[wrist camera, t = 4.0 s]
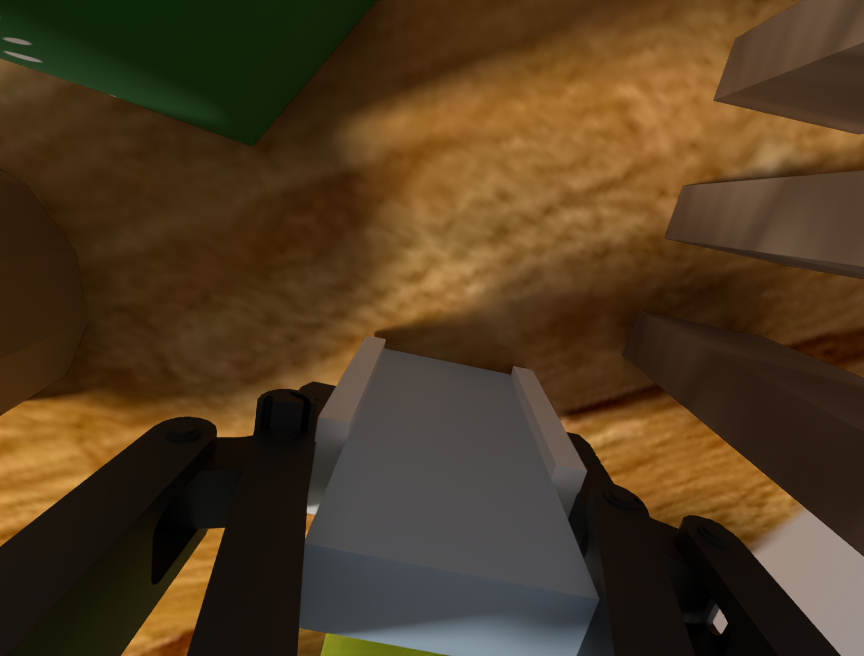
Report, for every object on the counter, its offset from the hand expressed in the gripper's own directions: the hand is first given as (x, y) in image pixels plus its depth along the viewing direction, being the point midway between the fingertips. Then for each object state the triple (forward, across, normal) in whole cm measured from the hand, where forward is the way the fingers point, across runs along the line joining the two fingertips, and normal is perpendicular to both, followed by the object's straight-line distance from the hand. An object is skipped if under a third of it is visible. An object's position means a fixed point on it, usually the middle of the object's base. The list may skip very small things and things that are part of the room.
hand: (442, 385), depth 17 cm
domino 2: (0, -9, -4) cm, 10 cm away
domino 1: (0, 0, 0) cm, 0 cm away
